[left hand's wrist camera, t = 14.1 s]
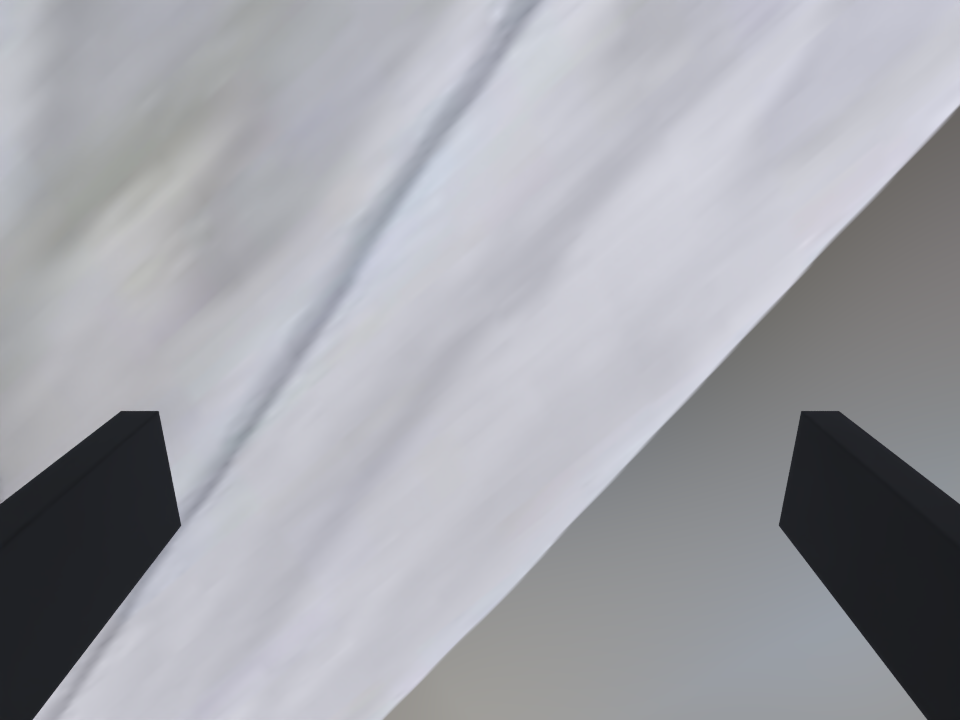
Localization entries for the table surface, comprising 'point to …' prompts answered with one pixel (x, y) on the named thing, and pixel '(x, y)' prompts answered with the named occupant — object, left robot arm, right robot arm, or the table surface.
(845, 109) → the table surface
